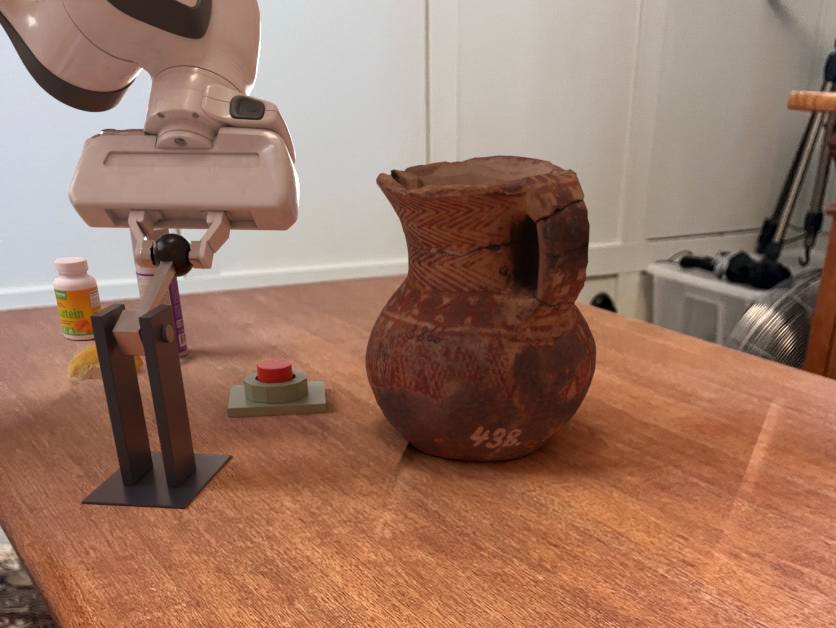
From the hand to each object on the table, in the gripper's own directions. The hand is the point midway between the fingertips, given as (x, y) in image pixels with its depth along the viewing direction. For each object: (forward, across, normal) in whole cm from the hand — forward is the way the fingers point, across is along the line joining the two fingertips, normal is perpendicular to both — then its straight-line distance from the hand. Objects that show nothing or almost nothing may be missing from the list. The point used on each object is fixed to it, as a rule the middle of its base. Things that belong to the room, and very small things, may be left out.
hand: (173, 264), depth 89 cm
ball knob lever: (+5, 0, 0) cm, 5 cm away
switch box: (+4, +4, +21) cm, 22 cm away
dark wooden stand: (+19, 0, +6) cm, 20 cm away
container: (-11, -17, +36) cm, 41 cm away
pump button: (+1, +4, +19) cm, 19 cm away
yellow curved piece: (-3, -20, +28) cm, 35 cm away
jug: (+7, +26, +18) cm, 33 cm away
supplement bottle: (-16, -31, +41) cm, 54 cm away
